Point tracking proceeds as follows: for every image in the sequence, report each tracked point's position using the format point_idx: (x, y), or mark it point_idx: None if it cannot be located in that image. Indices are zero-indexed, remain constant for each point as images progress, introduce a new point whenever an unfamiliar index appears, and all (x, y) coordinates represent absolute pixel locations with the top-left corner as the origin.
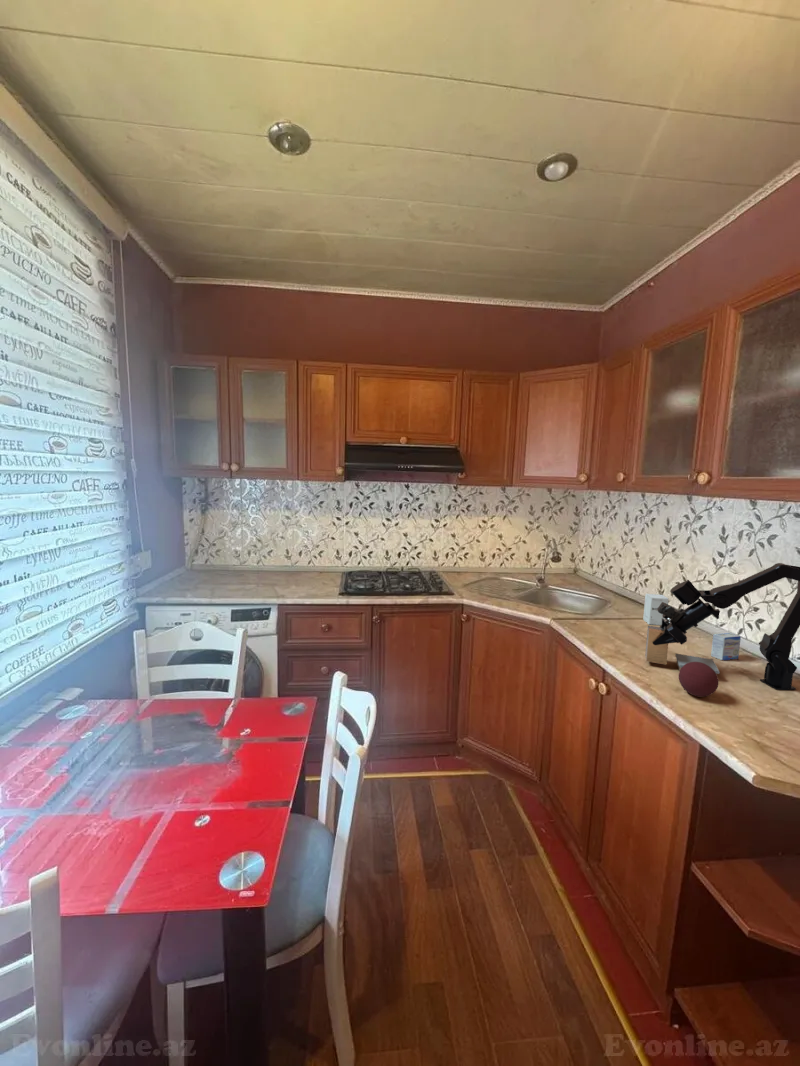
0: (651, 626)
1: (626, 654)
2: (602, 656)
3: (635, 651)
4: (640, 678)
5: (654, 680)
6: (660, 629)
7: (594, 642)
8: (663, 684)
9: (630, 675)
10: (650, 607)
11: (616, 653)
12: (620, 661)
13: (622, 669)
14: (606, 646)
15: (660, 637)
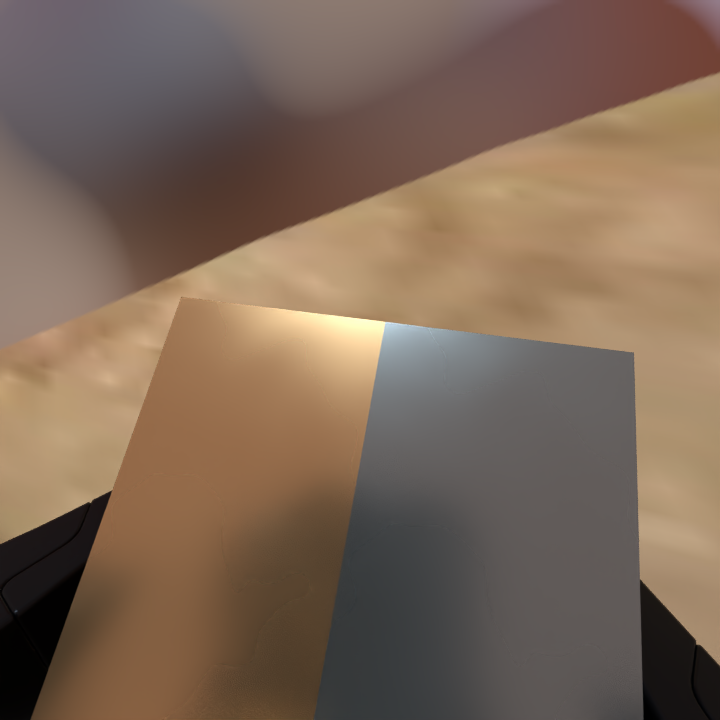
0: (594, 435)
1: (527, 329)
2: (413, 182)
3: (646, 413)
4: (117, 344)
5: (97, 421)
6: (370, 653)
7: (692, 148)
8: (45, 463)
9: (151, 298)
10: None
11: (515, 265)
12: (361, 272)
13: (230, 268)
14: (644, 215)
15: (86, 518)
